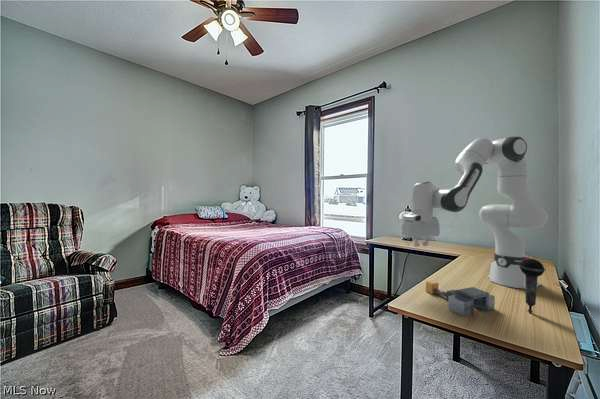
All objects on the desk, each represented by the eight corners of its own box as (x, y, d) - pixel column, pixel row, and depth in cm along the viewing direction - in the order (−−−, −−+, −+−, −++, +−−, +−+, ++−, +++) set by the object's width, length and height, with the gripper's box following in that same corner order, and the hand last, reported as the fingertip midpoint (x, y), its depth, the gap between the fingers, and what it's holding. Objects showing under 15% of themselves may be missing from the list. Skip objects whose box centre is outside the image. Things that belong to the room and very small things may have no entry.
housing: (477, 302, 98) (478, 285, 98) (494, 309, 92) (494, 291, 92) (448, 309, 92) (448, 291, 92) (463, 316, 86) (464, 297, 86)
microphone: (542, 312, 90) (544, 258, 90) (544, 319, 85) (546, 262, 85) (517, 306, 95) (519, 255, 94) (517, 312, 90) (519, 258, 89)
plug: (432, 290, 110) (432, 280, 110) (464, 303, 97) (465, 292, 97) (425, 291, 108) (425, 281, 108) (456, 305, 95) (457, 294, 95)
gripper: (432, 215, 120) (431, 243, 120) (399, 216, 112) (399, 246, 113) (443, 216, 114) (442, 246, 114) (410, 217, 107) (409, 249, 107)
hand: (420, 246), depth 114 cm, fingers open, 4 cm apart
